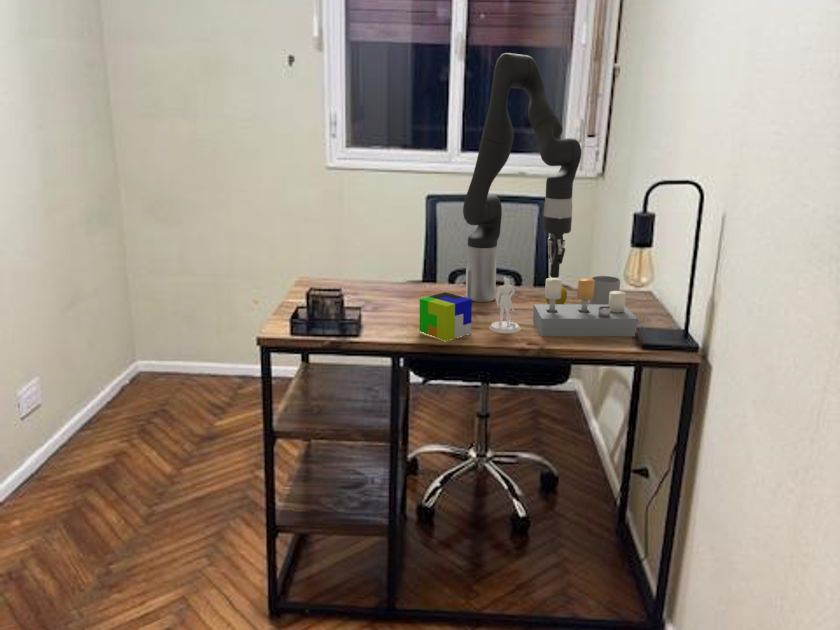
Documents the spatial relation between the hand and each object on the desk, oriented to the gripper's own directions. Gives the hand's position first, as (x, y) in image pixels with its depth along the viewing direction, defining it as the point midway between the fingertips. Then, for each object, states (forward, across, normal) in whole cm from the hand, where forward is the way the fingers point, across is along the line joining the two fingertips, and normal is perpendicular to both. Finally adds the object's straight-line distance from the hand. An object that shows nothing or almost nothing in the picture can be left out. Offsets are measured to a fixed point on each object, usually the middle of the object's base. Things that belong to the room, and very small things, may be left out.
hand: (554, 277), depth 208 cm
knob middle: (+10, 0, +9) cm, 13 cm away
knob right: (+14, 0, +18) cm, 22 cm away
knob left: (+10, 0, 0) cm, 10 cm away
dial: (+10, +4, +13) cm, 17 cm away
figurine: (+15, 0, -13) cm, 20 cm away
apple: (+15, -20, +5) cm, 26 cm away
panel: (+15, 0, +9) cm, 17 cm away
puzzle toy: (+15, +5, -30) cm, 34 cm away
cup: (+15, -17, +19) cm, 30 cm away
